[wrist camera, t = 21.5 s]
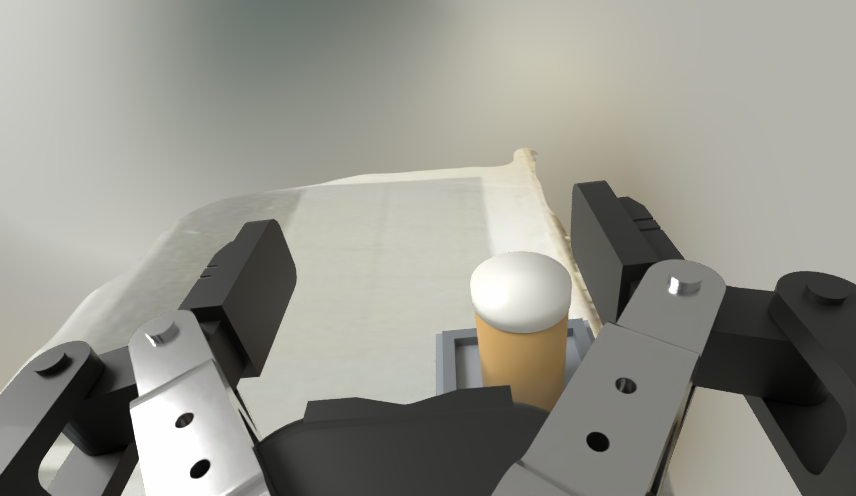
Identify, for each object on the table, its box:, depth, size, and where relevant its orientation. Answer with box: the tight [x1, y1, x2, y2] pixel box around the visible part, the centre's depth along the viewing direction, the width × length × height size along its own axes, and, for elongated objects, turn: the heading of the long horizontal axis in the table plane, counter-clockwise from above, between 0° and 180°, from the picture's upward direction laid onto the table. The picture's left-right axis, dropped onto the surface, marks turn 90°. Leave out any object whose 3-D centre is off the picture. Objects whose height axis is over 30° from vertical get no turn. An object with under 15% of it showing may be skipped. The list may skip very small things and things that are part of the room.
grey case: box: [436, 318, 595, 396], centre depth 37 cm, size 13×13×8 cm
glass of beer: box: [470, 251, 572, 412], centre depth 32 cm, size 6×6×11 cm
